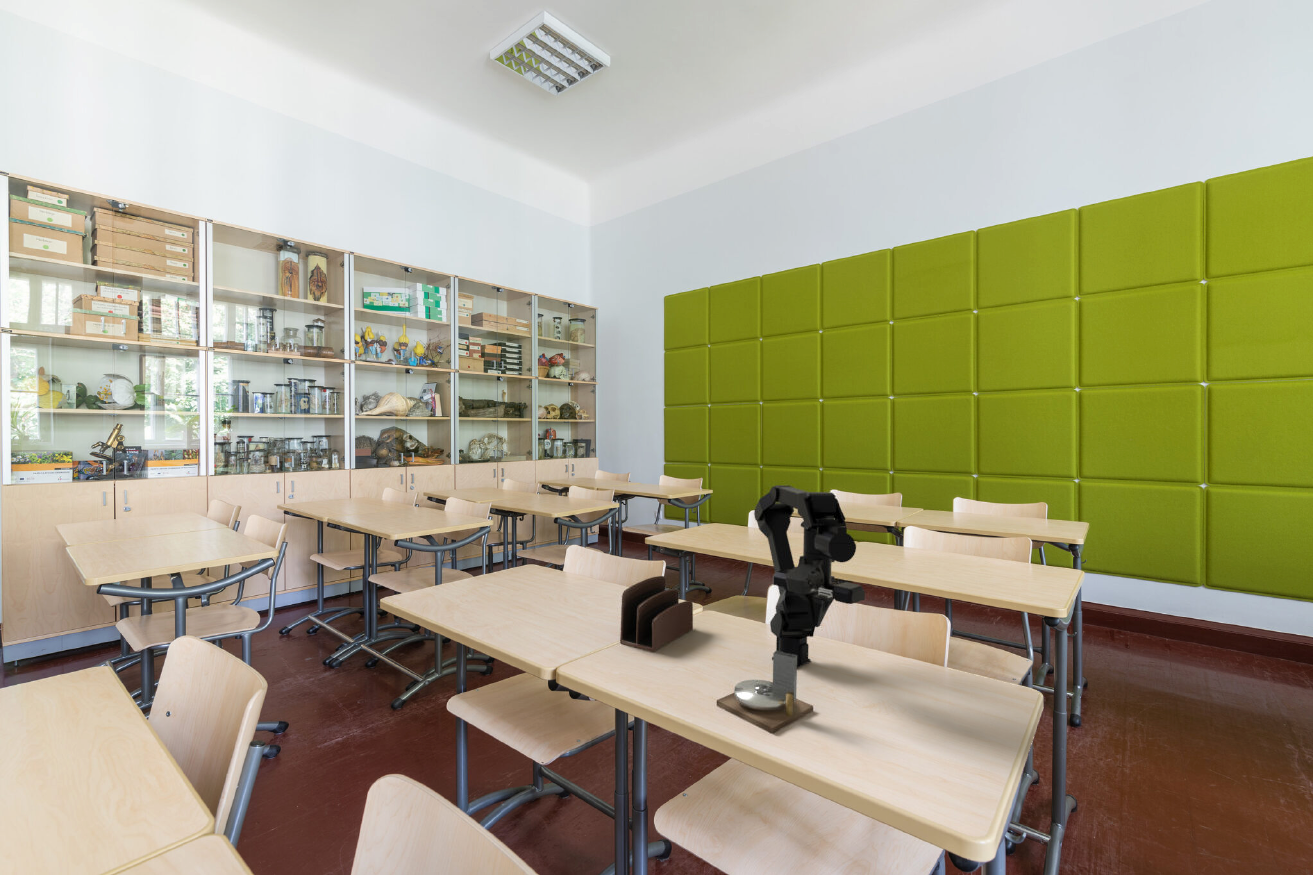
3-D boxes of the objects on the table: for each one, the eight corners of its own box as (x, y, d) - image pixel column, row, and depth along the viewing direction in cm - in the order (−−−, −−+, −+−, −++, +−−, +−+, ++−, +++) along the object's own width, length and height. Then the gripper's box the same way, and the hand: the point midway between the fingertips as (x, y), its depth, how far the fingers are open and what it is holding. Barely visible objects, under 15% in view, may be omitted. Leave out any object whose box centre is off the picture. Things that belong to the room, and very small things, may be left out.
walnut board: (716, 705, 104) (717, 681, 104) (757, 686, 113) (758, 664, 113) (772, 733, 95) (772, 707, 95) (813, 711, 103) (813, 686, 103)
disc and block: (725, 700, 102) (727, 651, 102) (746, 681, 111) (747, 635, 111) (786, 718, 96) (787, 665, 96) (802, 696, 105) (803, 647, 105)
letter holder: (619, 644, 135) (620, 587, 135) (661, 622, 152) (663, 571, 152) (653, 653, 130) (654, 593, 130) (693, 630, 146) (694, 577, 146)
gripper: (757, 549, 117) (756, 622, 117) (837, 565, 103) (835, 648, 103) (788, 543, 124) (787, 612, 124) (866, 557, 110) (865, 635, 110)
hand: (815, 626), depth 115 cm, fingers closed
